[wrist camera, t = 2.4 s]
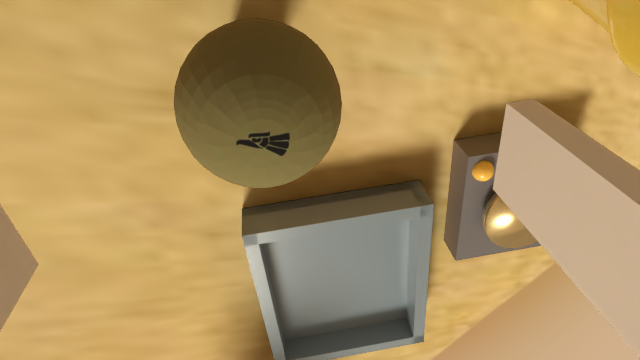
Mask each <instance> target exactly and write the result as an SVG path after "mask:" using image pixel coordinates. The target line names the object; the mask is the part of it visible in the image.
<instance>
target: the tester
mask: <svg viewBox="0 0 640 360" xmlns="http://www.w3.org/2000/svg"><path fill="white" fill-rule="evenodd" d="M501 135H502V133H495V134H489V135H482V136H476V137H470V138H463V139H457V140H454V144H453V154H452V164H451V174H450V185H449V195H448V205H447V215H446V225H445V235H444V241H445V243H446V245H447V246H448V248H449V250H450V252H451V253H452V255H453V257H454V259H455V260H462V259H468V258H473V257H479V256H485V255H490V254H496V253H502V252H508V251H513V250H519V249H525V248H530V247H536V246H541V244H540V243H539V242H536V243H533V244H531V245H528V246H524V247H520V248H504V247H501V246H498V245H496V244H494V243H493V242H492V241H491V240H490V239H489V237H488V236H487V234H486V233H485V231H484V230H483V227H482V215H483V211H484V209H485V207H486V205H487V203H488V202H489V200H490V199H491V198H492V197H493V195H494V194H495V193H496V192H495V191H494V190H493V184H494V178H495V172H496V165H497V159H498V153H499V147H500V141H501Z"/></svg>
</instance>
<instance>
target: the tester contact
mask: <svg viewBox="0 0 640 360" xmlns="http://www.w3.org/2000/svg"><path fill="white" fill-rule="evenodd" d="M482 227H483V230H484V231H485V233H486V234H487V236H488V237H489V239H490V240H491V241H492V242H493V243H494V244H496V245H498V246H501V247H504V248H520V247H524V246H528V245H531V244H533V243H536V242H538V241H537V240H536V239H535V237H534V236H533V235H532V234H531V233H530V232H529V230H528V229H527V228H526V227H525V226H524V225H523V223H522V222H521V221H520V220H519V219H518V218H517V217H516V215H515V214H514V213H513V212H512V211H511V210H510V208H509V207H508V206H507V205H506V204H505V203H504V201H503V200H502V199H501V198H500V197H499V196H498V195H497V193H495V194H494V195H493V197H492V198H491V199H490V200H489V202H488V203H487V205H486V207H485V209H484V211H483V215H482Z"/></svg>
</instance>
